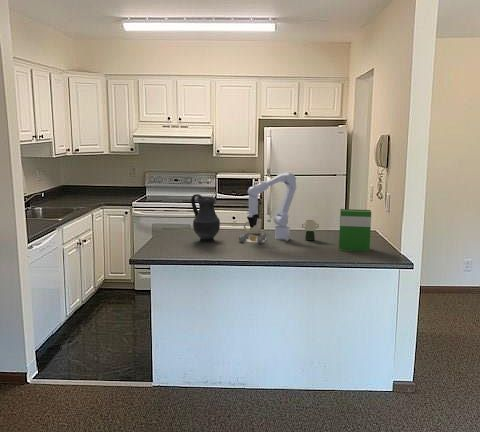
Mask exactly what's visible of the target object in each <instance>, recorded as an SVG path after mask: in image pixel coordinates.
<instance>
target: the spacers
mask: <svg viewBox="0 0 480 432" xmlns="http://www.w3.org/2000/svg"><path fill="white" fill-rule="evenodd" d="M248 238H250V233H249V232H244V233H243V234H241V235H240V236H238V243H243V244H244V243H245V242H244V241H246V239H248ZM265 239H266V233H260V235H258V236H257V242H256V243H257V244H258V245H262V244H263V243H264V242H263V240H265ZM265 241H266V240H265ZM262 242H263V243H262Z"/></svg>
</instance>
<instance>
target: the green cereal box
mask: <svg viewBox="0 0 480 432" xmlns="http://www.w3.org/2000/svg"><path fill="white" fill-rule="evenodd" d="M339 213H340V215H339V238H338V239H339V241H338V243H339V244H338V250H339V249H342V250H341V251H343V250H357V251H356V252H367V251H369V252H370V251H371V250H370V248H371V247H370V246H371V227H372V224H371V223H372V210H371V209H356V208H354V209H352V208H351V209H350V208H346V209H345V208H340V211H339Z"/></svg>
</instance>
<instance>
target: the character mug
mask: <svg viewBox="0 0 480 432" xmlns="http://www.w3.org/2000/svg"><path fill="white" fill-rule="evenodd" d="M319 226H320V223H318V222H317V220H316V219H306V220H304V222H302V223H301V228H302V229H305V231H306V232H305V236H304V239H305V240H306V241H314V240H315V237H316V235H315V231H316V230H317V229H319V228H320V227H319Z"/></svg>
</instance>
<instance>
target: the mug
mask: <svg viewBox="0 0 480 432" xmlns="http://www.w3.org/2000/svg"><path fill="white" fill-rule="evenodd" d="M247 224H249V221H245V222H244V223H243V229H244V230H245V232H250V233H251V234H257V235H258V234H260V235H261V227H262V219H261V218H258V219H257V223H256V226H254V227H253V228H251V227H250V226H249V228H250V229H247V228H246V226H247Z"/></svg>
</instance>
